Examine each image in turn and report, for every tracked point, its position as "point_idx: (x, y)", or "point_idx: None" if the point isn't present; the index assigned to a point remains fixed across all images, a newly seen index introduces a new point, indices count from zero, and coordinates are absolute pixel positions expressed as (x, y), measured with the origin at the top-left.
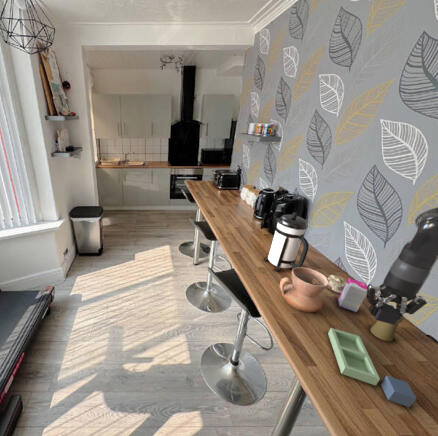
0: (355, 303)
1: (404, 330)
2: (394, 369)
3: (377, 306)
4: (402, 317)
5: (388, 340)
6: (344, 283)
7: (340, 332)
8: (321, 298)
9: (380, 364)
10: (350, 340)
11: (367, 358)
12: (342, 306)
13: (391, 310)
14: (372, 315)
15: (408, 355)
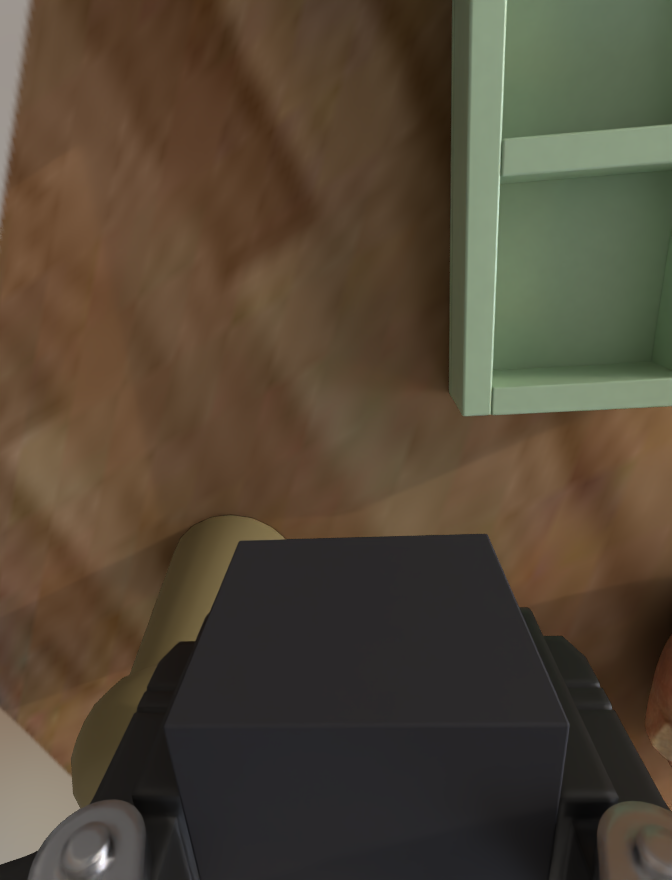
0: None
1: (82, 672)
2: (235, 218)
3: (668, 842)
4: (85, 753)
5: (205, 524)
6: None
7: (637, 380)
8: (668, 749)
9: (329, 217)
10: (512, 370)
11: (498, 104)
12: None
13: (300, 823)
14: (525, 608)
15: (105, 439)
